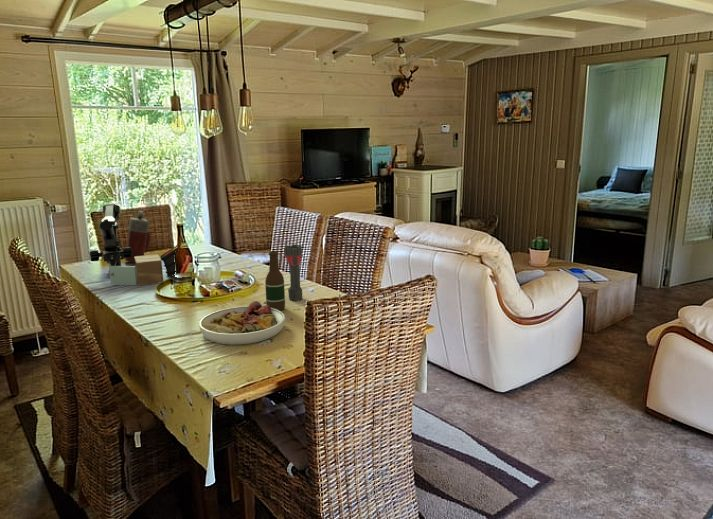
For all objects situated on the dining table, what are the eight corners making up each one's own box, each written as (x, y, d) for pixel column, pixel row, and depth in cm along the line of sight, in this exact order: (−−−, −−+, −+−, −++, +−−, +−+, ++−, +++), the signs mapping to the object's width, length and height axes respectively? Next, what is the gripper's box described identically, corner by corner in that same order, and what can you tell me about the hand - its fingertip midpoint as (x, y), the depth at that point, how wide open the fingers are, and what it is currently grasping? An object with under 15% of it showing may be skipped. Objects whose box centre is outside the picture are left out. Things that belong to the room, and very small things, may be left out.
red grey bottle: (147, 263, 301) (154, 213, 298) (125, 261, 295) (133, 210, 292) (145, 260, 309) (152, 211, 305) (124, 257, 303) (131, 208, 300)
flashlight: (293, 294, 237) (291, 243, 232) (307, 297, 234) (305, 245, 228) (282, 299, 231) (279, 246, 226) (297, 301, 227) (294, 248, 222)
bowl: (269, 350, 177) (268, 328, 175) (184, 345, 182) (182, 323, 181) (295, 320, 206) (294, 300, 204) (221, 316, 211) (220, 297, 209)
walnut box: (136, 278, 268) (134, 256, 265) (159, 275, 272) (157, 254, 270) (139, 285, 255) (136, 262, 252) (163, 282, 259) (161, 260, 257)
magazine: (195, 269, 277) (181, 245, 270) (174, 284, 271) (158, 260, 264) (192, 267, 280) (178, 244, 273) (171, 282, 274) (155, 258, 267)
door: (109, 285, 254) (107, 266, 252) (112, 284, 256) (109, 265, 254) (136, 286, 253) (134, 266, 251) (138, 284, 255) (136, 265, 253)
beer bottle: (289, 307, 220) (286, 250, 214) (280, 313, 213) (277, 254, 207) (272, 305, 222) (269, 248, 217) (262, 311, 215) (259, 252, 210)
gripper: (87, 234, 254) (90, 261, 247) (129, 230, 262) (133, 257, 255) (89, 247, 263) (92, 274, 256) (130, 243, 271) (134, 269, 264)
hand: (113, 268), depth 257 cm, fingers closed
